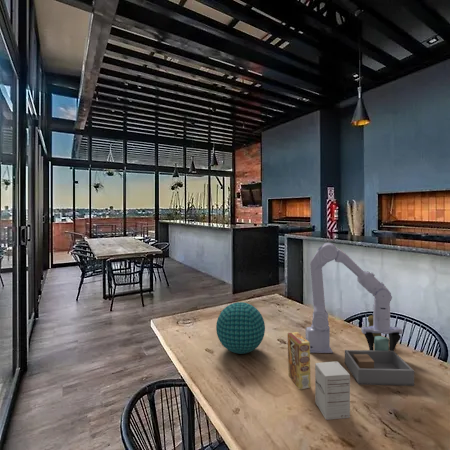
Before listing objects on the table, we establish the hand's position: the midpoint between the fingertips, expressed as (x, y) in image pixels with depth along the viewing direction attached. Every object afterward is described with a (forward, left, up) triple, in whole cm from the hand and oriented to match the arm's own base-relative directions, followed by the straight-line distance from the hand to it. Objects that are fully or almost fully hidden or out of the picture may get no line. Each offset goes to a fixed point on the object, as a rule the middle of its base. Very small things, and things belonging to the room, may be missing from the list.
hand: (381, 351), depth 115 cm
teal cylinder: (0, 0, -2) cm, 2 cm away
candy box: (-35, -18, -2) cm, 40 cm away
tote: (-7, -12, -2) cm, 14 cm away
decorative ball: (-55, +3, -2) cm, 55 cm away
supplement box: (-28, -32, -2) cm, 43 cm away
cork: (+3, +14, -2) cm, 14 cm away
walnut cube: (-12, -13, -1) cm, 17 cm away
